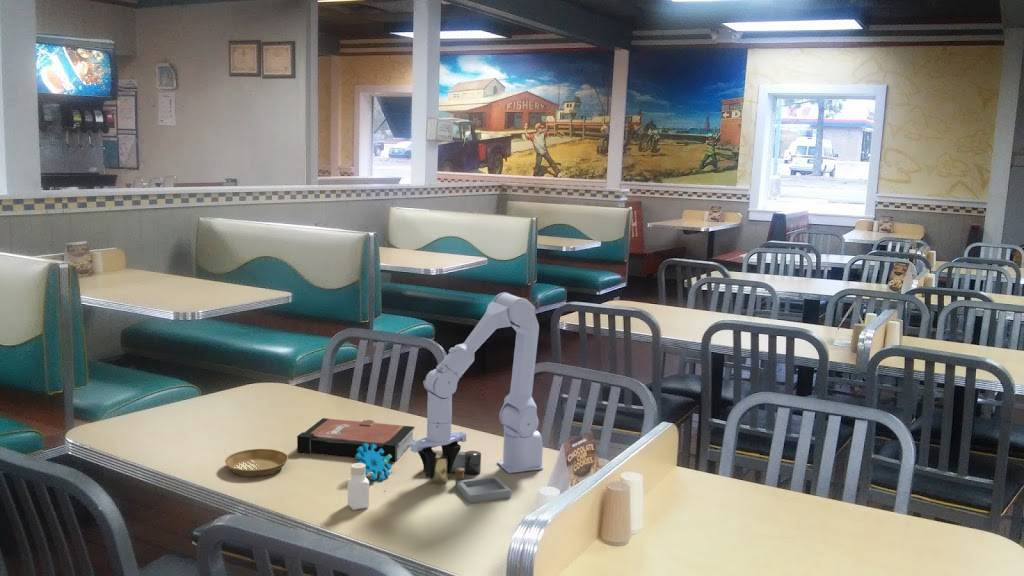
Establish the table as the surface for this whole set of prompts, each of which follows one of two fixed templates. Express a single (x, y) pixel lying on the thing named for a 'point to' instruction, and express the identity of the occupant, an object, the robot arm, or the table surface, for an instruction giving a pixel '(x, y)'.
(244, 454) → the shallow brown basket
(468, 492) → the tray
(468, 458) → the crank
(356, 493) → the salt shaker
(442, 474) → the cylinder
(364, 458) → the gear
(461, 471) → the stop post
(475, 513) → the table surface
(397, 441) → the book
